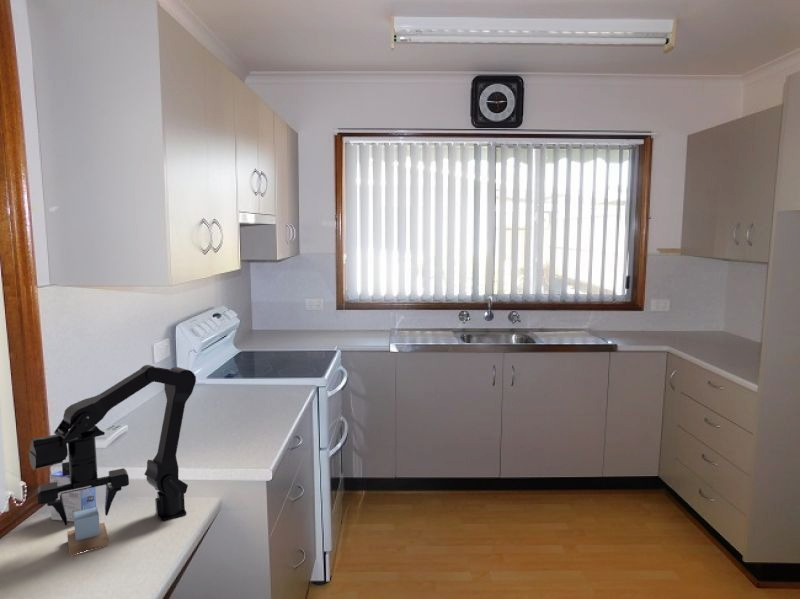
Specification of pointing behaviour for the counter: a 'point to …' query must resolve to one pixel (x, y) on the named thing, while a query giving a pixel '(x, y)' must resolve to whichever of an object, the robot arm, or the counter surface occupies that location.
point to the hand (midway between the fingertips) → (86, 519)
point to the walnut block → (87, 541)
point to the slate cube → (86, 523)
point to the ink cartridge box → (72, 498)
